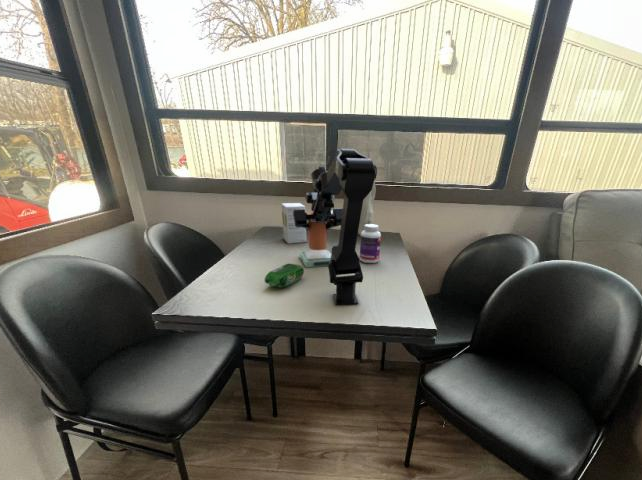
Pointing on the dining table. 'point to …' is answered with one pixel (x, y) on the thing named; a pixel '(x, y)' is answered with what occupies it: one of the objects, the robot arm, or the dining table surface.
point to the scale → (315, 258)
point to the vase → (367, 210)
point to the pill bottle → (370, 244)
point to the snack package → (284, 275)
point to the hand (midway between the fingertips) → (316, 229)
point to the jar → (317, 235)
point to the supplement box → (292, 224)
